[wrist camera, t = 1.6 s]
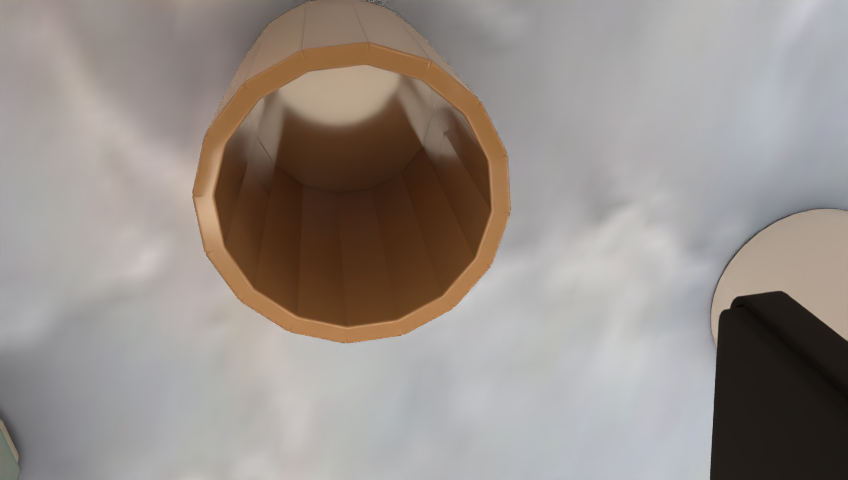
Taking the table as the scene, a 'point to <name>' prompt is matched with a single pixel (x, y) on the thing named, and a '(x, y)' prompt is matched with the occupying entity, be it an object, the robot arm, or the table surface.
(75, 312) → the table surface
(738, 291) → the pill bottle
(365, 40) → the wooden cup
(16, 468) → the disposable coffee cup
